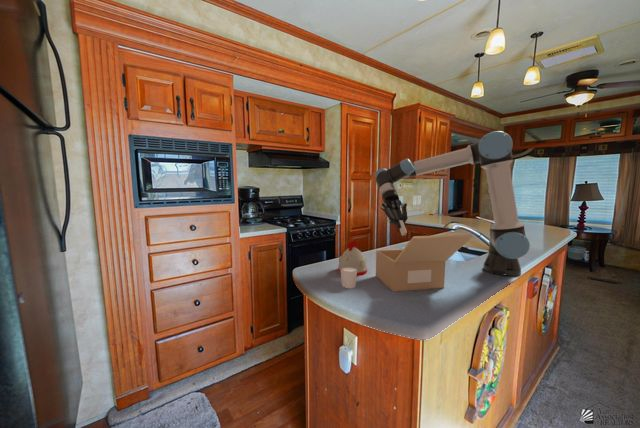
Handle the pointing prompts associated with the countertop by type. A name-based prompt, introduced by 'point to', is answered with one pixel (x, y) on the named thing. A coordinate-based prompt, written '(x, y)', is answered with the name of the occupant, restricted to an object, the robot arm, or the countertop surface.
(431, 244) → the carton lid
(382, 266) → the carton
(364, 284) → the countertop surface
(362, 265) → the kitchen timer
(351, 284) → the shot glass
